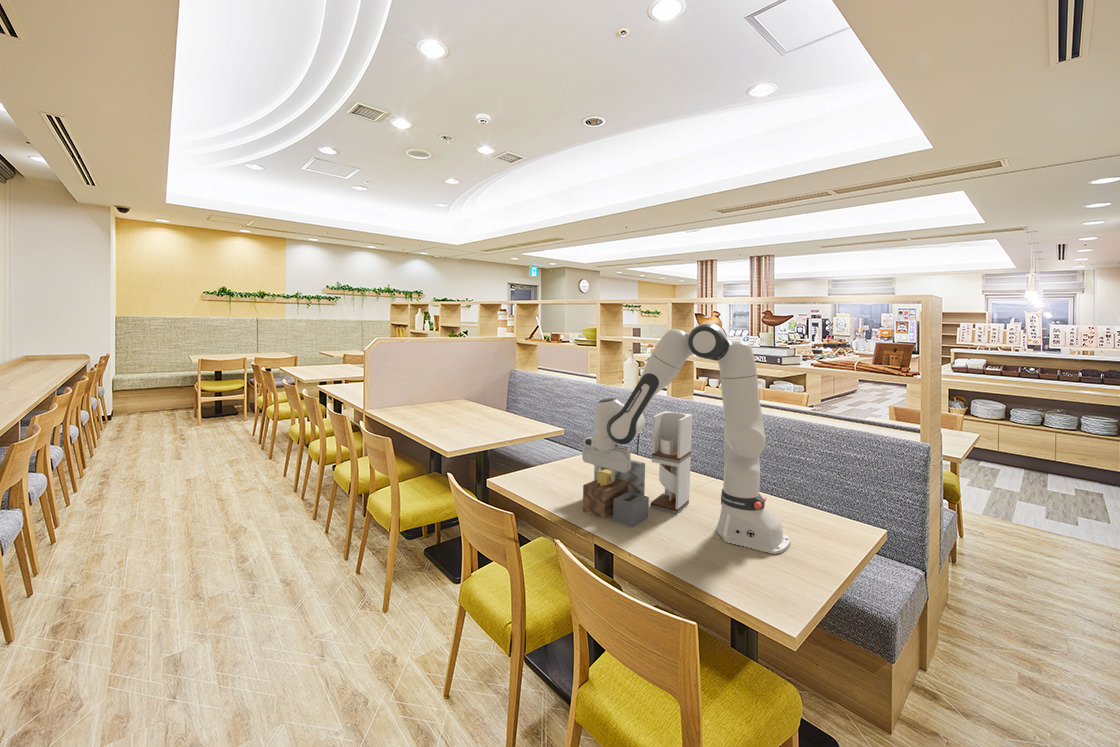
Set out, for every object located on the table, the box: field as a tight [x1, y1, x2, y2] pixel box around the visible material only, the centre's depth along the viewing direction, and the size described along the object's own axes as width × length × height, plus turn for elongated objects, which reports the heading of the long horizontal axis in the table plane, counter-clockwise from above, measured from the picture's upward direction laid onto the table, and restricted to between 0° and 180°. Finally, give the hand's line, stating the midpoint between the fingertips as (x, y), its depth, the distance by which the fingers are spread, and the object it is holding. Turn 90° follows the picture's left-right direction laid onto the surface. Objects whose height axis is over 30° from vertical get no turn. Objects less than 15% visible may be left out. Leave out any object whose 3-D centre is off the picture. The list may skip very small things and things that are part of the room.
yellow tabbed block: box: [597, 469, 614, 486], centre depth 175 cm, size 4×5×8 cm
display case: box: [649, 410, 693, 515], centre depth 177 cm, size 11×11×35 cm
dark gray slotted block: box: [612, 491, 650, 529], centre depth 167 cm, size 8×10×8 cm
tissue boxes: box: [582, 459, 646, 520], centre depth 176 cm, size 22×16×18 cm
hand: (605, 478), depth 174 cm, fingers closed on yellow tabbed block, 4 cm apart
